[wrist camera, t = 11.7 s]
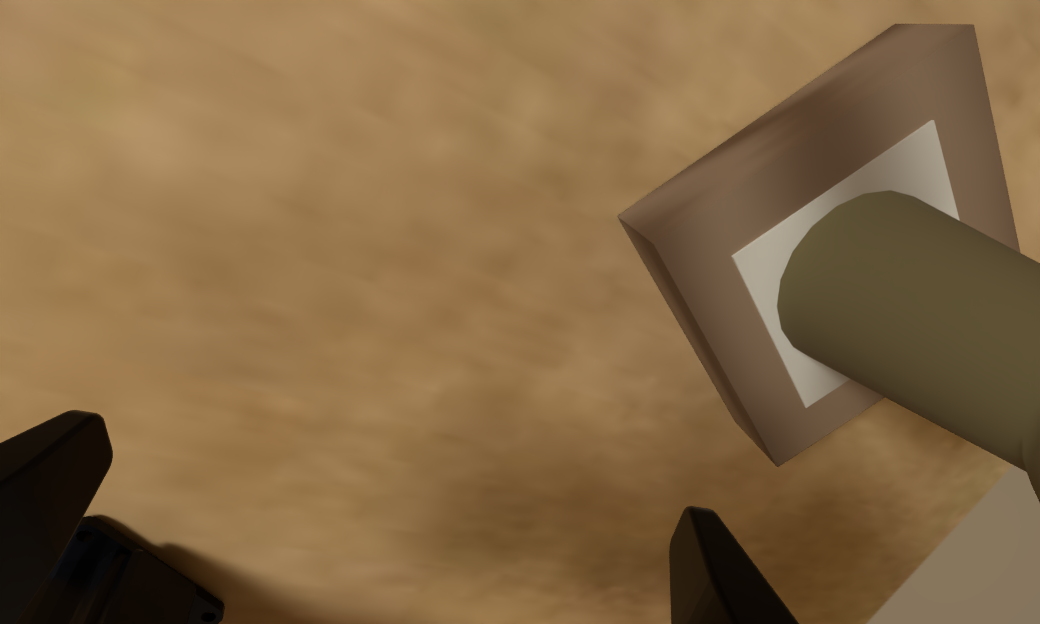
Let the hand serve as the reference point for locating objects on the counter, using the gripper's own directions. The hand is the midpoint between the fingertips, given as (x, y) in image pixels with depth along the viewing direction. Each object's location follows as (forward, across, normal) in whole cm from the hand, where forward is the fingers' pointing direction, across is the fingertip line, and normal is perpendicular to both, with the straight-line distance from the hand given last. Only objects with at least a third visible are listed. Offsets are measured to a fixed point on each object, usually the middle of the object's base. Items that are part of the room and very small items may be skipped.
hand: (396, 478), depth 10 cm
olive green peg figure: (+12, -13, +1) cm, 18 cm away
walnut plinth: (+15, -12, +2) cm, 19 cm away
